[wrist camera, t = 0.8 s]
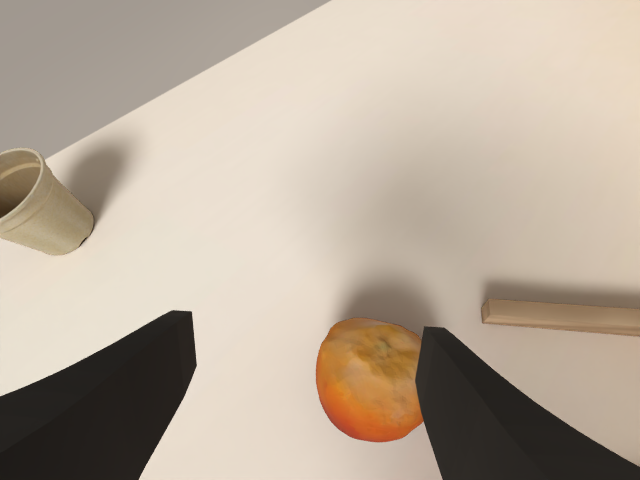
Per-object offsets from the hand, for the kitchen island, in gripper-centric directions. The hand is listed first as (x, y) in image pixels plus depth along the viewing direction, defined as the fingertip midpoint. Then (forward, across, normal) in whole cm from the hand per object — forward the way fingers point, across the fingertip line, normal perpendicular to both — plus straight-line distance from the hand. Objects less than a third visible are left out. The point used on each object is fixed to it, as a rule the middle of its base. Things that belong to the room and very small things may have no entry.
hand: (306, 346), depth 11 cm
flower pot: (+27, +29, +7) cm, 40 cm away
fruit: (+12, -5, +12) cm, 18 cm away
